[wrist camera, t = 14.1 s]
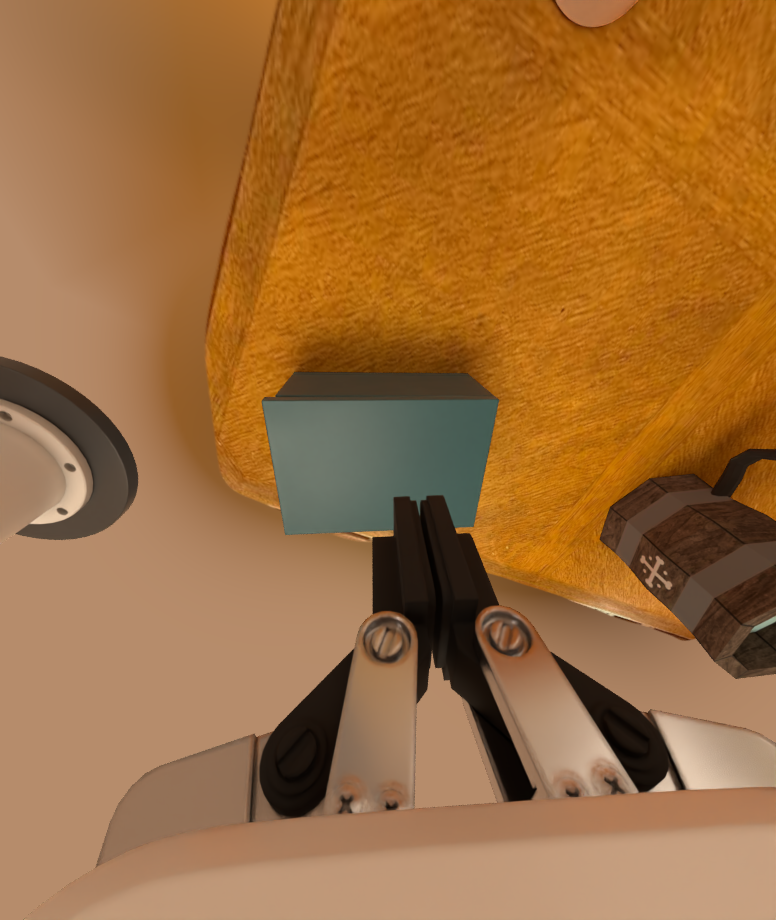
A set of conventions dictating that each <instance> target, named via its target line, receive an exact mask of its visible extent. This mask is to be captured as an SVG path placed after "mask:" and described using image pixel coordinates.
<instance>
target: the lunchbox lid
mask: <svg viewBox="0 0 776 920" xmlns="http://www.w3.org/2000/svg"><path fill="white" fill-rule="evenodd" d="M498 402H499V399H498V398H496V397H495V396H429V397H264V399H263V400H262V406H263V411H264V417H265V423H266V428H267V434H268V440H269V445H270V451H271V457H272V462H273V468H274V474H275V479H276V485H277V491H278V496H279V502H280V508H281V513H282V519H283V524H284V530H285V534H286V535H292V534H316V533H339V532H363V531H387V530H394V517H393V498H394V497H403V496H410V500H416V502H417V506H418V511H419V516H420V502H421V500H426V496H430V495H443V496H444V498H445V501H446V504H447V507H448V509H449V512H450V515H451V518H452V521H453V524H454V527H455V528H457V527H474V522H475V517H476V512H477V507H478V502H479V497H480V492H481V487H482V482H483V477H484V472H485V467H486V462H487V457H488V452H489V447H490V442H491V437H492V432H493V427H494V422H495V417H496V412H497V407H498Z"/></svg>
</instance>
